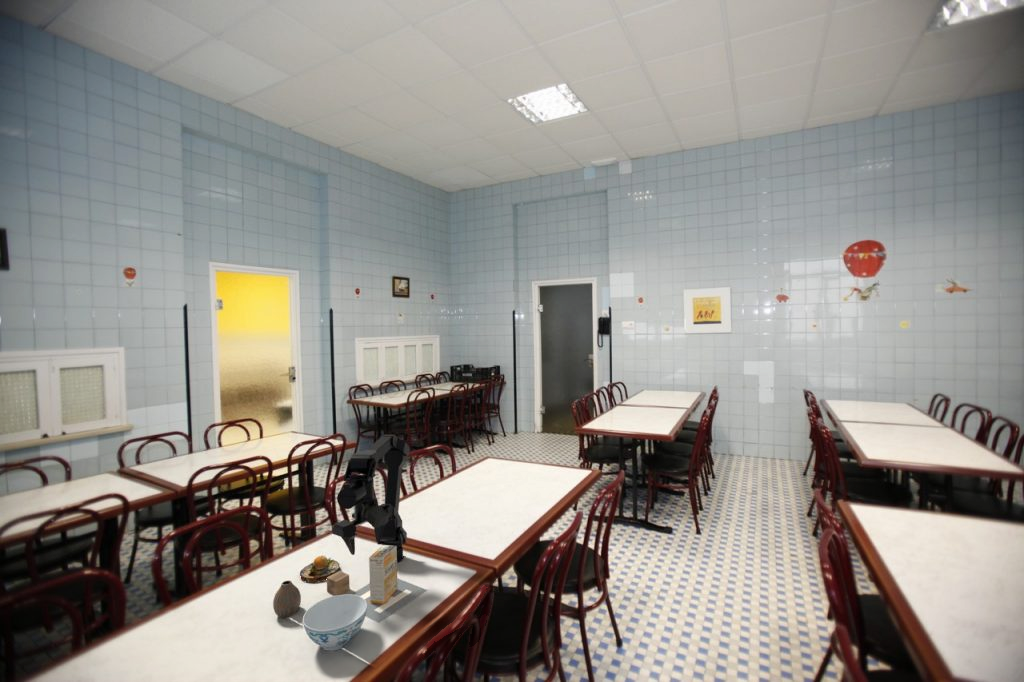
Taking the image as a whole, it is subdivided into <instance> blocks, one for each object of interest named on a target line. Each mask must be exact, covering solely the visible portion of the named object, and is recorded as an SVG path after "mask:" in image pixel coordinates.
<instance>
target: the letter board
mask: <svg viewBox="0 0 1024 682" xmlns="http://www.w3.org/2000/svg"><path fill="white" fill-rule="evenodd" d="M397 581H398V589H397V590H396V591H395V592H394V593H393V594H392V596H391V597H390V598H389V599H388V600H387V602H386V603H385V604H379V603H371V602H370V583H368V584H367V585H365V586H362V587H361V588H359V589H357V590H356V591H354V592H352V593H351V594H352V595H357V596H360V597H362V598H364V599H365V601H366V602H367V611H366V615H365V618H368V619H370V620H372V621H374V622H376V623H378V624H380V623H381V622H383V621H384V620H385V619H387V618H389V617H391V616H392V615H393V614H395V613H396V612H397V611H399V610H401V609H402V608H403V607H405V606H406V605H408V604H409V603H411V602H413V601H414V600H415V599H417V598H418V597H420V596H421V595H423V594H425V593H426V592H427V591H428V589H425V588H423V587H421V586H419V585H415V584H413V583H411V582H408V581H405V580H403V579H401V578H398V577H397Z"/></svg>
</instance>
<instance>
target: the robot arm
mask: <svg viewBox="0 0 1024 682" xmlns="http://www.w3.org/2000/svg"><path fill="white" fill-rule="evenodd" d="M410 452H411V451H410V445H408V443H407V442H406V441H405V440H403V439H400V438H398V437H397V436H396V435H395V434H383V435H381V436H379V438H378V439H377V440H376V441H375V442H374V443H373V444H372V445H371V446H370V447H368V448H367V449H365V450H363V451H357V452H356V453H353V454H352V455H351V456H350V458H349V460H348V462H347V466H346V470H345V473H344V478H343V482H345V483H343V484H342V485H343V486H342V489H341V490H339V492H338V493H337V497H336V501H337V504H338V505H339V507H340V508H342V509H345V510H350V509H354V510H353V511H354V512H353V513H351V518H353V519H354V520H347V519H343V520H341V521H338V522H336V523H334V524H333V525H332V527H331V533H332V535H335V536H338V537H340V538H341V539H342V540H343V542H344V544H345V545H346V548H347V550H348V551H349V553H350V554H351V555H352V556H355V553H356V540H355V539H356V536H357V535H358V533H356V531H357V527H360V526H361V525H363V524H366V523H368V524H369V525H370V526H371V527H372V528H373V530H374V537H375V540H376V542H377V543H376V544H377V545H382V546H383V545H391V546H397V564H398V563H400V562H402V560H404V559H406V558H407V556H405V555H404V547H403V545H405V544H406V543H407V538H408V533H407V531H406V530H405V528H404V527H403V519H402V517H401V516H400V514H399V509H400V498H401V497H400V496H401V486H402V485H401V484H402V472H403V468H404V467H405V465H406V464H407V462H408V461H409V459H408V458H409V455H410ZM382 458H383V461H384V463H385V465H386V468H387V473H386V474H387V475H386V485H385V486H386V488H385V495H384V497H385V498H384V503H381V504H379V500H378V498H375V486H374V484H375V483H374V478H375V477H376V470H377V468H379V464H378V463H379V461H380V460H381V459H382Z"/></svg>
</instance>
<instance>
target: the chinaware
mask: <svg viewBox="0 0 1024 682" xmlns="http://www.w3.org/2000/svg"><path fill="white" fill-rule="evenodd" d="M366 611H367V602H366V601H365V599H364V598H362V597H360V596H357V595H352V593H350V594H348V593H347V594H344V593H342V594H340V595H336V596H335V595H333V596H330V597H327V598H324V599H321V600H319V601H317V602H316V603H314V604H313V605H312V606H310V607H309V608H308V609H307V610H306V611H305V613H304V615H303V616H302V625H303V628H304V630H305V632H306V634H307V637H309V639H310V640H311V641H312V642H313V643H315V644H316V645H318V646H320V647H322V648H323V649H324V650H326V651H329V652H330V651H337V650H341V649H343V648H344V645H345V644H347V643H349V641H350V640H351V639H353V638H354V637H355V635H357V634H358V632H359V630H360V629H361V627H362V626H363V624H364V621H365V619H366V616H365V615H366Z"/></svg>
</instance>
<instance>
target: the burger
mask: <svg viewBox="0 0 1024 682" xmlns="http://www.w3.org/2000/svg"><path fill="white" fill-rule="evenodd" d="M331 558H332V557H329V558H327V557H326V555H325V556H324V555H319V556H316V557H315V558H314V559H313V562H312V563H309V564H308V565H306V566H304V567H303V568H302V569H301V570H300V572H299V577H300V576H301V577H300V578H301V579H302V580H303V582H304V581H306V582H305V583H307V582H308V583H312V582H314V583H315V582H317V583H319V582H318V581H320V582H322V581H323V582H325V581H324V580H326V579H327V577H329V576H331V575H333V574H335V573H337V572H338V568H339V569H340V563H339V562H338V561H336V560H334V559H331ZM301 579H300V580H301ZM326 581H327V580H326Z"/></svg>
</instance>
